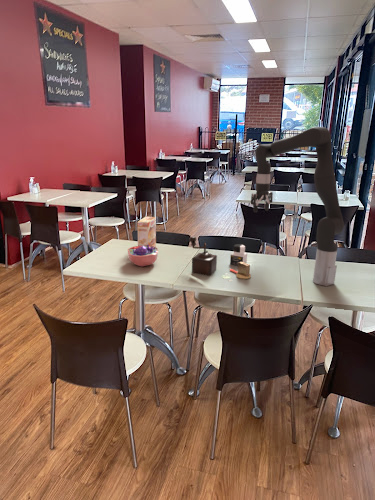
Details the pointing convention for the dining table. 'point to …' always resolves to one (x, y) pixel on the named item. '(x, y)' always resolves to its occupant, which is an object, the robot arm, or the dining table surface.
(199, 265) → the pepper mill
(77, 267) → the dining table surface
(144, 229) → the coffeecake box
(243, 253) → the medicine bottle
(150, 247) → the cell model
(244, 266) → the brown block with rod
